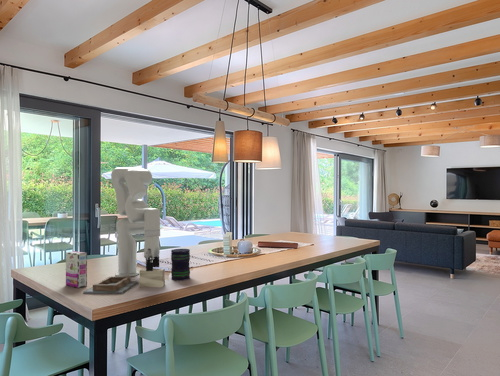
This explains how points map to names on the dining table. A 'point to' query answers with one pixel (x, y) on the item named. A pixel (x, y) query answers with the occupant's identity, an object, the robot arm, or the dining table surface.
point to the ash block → (152, 278)
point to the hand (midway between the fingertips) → (152, 268)
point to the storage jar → (180, 264)
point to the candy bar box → (76, 269)
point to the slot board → (112, 286)
